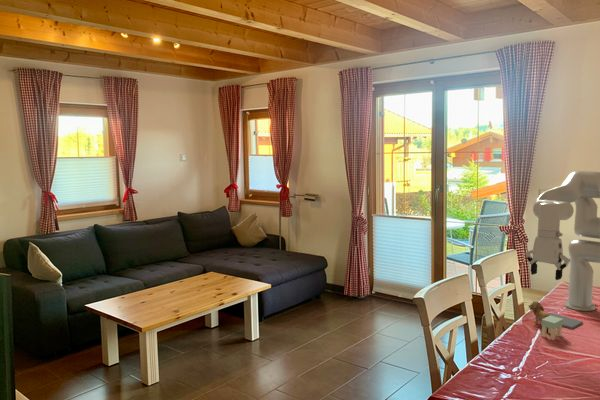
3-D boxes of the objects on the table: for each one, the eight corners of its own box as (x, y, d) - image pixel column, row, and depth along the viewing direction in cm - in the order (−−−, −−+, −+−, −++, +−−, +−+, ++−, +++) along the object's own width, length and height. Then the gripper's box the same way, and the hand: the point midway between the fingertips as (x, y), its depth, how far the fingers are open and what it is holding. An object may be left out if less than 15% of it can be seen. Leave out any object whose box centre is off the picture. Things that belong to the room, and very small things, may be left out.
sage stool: (549, 331, 196) (550, 315, 195) (562, 335, 192) (562, 318, 191) (541, 336, 191) (541, 319, 190) (553, 340, 187) (554, 323, 187)
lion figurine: (526, 320, 209) (527, 300, 208) (537, 319, 210) (538, 299, 208) (547, 333, 194) (548, 311, 193) (559, 332, 195) (560, 311, 194)
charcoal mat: (549, 314, 215) (549, 312, 215) (582, 323, 204) (583, 321, 204) (538, 319, 209) (538, 317, 209) (571, 329, 198) (572, 327, 198)
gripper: (575, 236, 184) (573, 280, 185) (531, 230, 198) (529, 270, 199) (566, 238, 179) (563, 283, 181) (521, 231, 193) (519, 273, 195)
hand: (545, 276), depth 190 cm, fingers open, 9 cm apart
